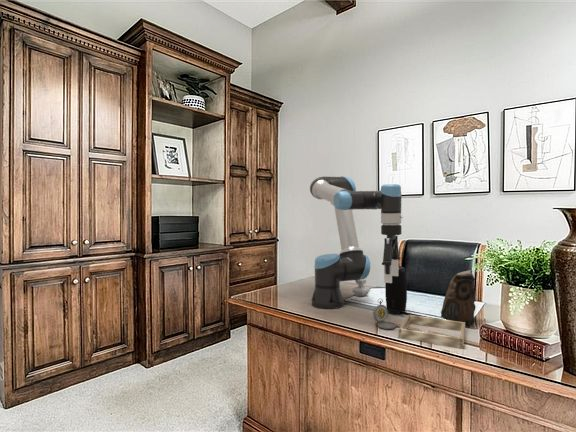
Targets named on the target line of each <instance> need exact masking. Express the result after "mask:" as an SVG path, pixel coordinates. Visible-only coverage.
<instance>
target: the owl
mask: <svg viewBox="0 0 576 432" xmlns="http://www.w3.org/2000/svg"><path fill="white" fill-rule="evenodd" d="M475 281H476V278H475V277H474V274H473V270H472V269H469V270H465V271H461V272H457V273H456V274H455V275H454V276H453V277H452V278H451V280H450V282H449V285H448V288H447V289H446V290H447V291H446V293H445V296H444V300H443V302H442V307H441V310H440V317H441V318H442V317H443V318H442V319H444V320H445V319H446V320H451V321H458V322H465V327H469V326H470V325H473V323H475V321H474V320H475V311H476V304H475V301H476V290H475Z"/></svg>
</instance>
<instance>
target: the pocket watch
mask: <svg viewBox="0 0 576 432" xmlns="http://www.w3.org/2000/svg"><path fill="white" fill-rule="evenodd" d="M383 302H384V299H381V300H380V298H377V303H379V305H376V307H375V308H374V309H373V311H372V312H373V313H372V316H373V319H374V320H375V321H376V322H377V326H378V327H379V328H380V329H382V330H393V329H395V328H396V327H397V325H396V324H395V323H394V322H391V321H386V320H387V317H388V314H389V311H388V310H387V307H386V305H384V304H382V303H383Z"/></svg>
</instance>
